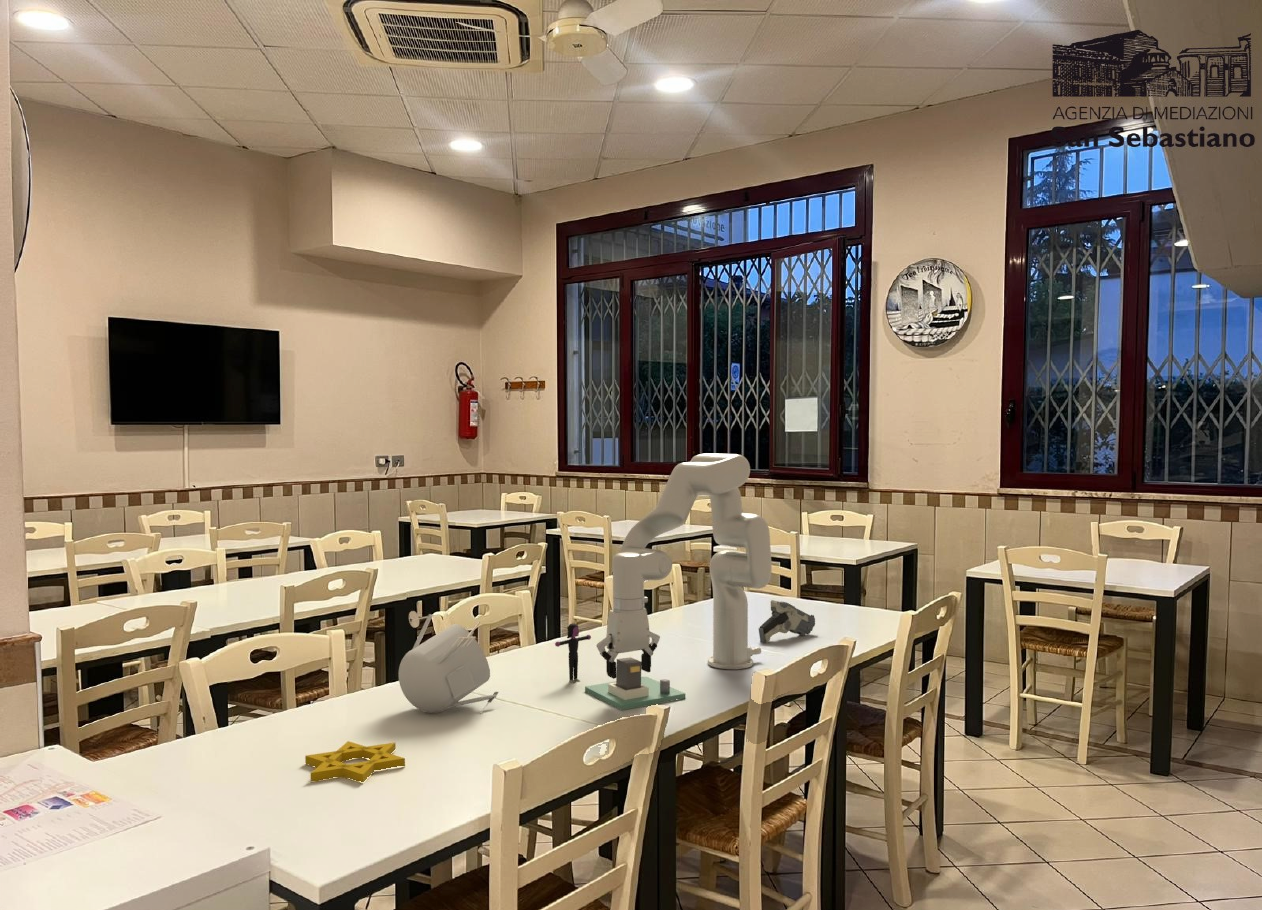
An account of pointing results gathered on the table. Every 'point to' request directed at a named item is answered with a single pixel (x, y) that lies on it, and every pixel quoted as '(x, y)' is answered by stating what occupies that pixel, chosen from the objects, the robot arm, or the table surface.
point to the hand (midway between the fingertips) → (629, 674)
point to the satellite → (443, 668)
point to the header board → (636, 693)
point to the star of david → (333, 767)
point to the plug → (628, 673)
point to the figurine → (573, 649)
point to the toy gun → (786, 621)
